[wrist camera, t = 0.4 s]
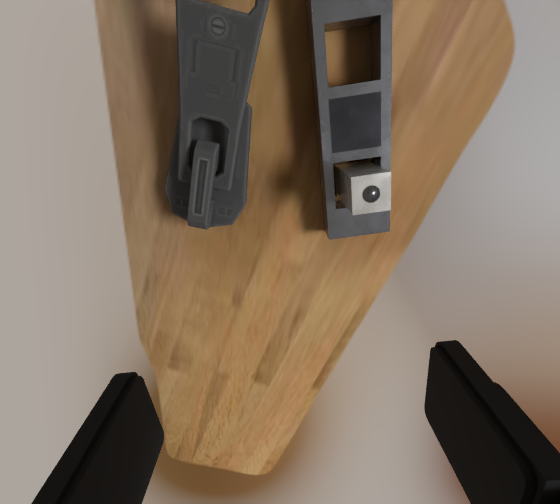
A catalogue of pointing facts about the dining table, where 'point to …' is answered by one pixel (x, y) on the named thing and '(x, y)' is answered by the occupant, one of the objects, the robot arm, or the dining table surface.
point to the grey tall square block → (363, 187)
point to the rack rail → (352, 107)
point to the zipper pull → (213, 111)
